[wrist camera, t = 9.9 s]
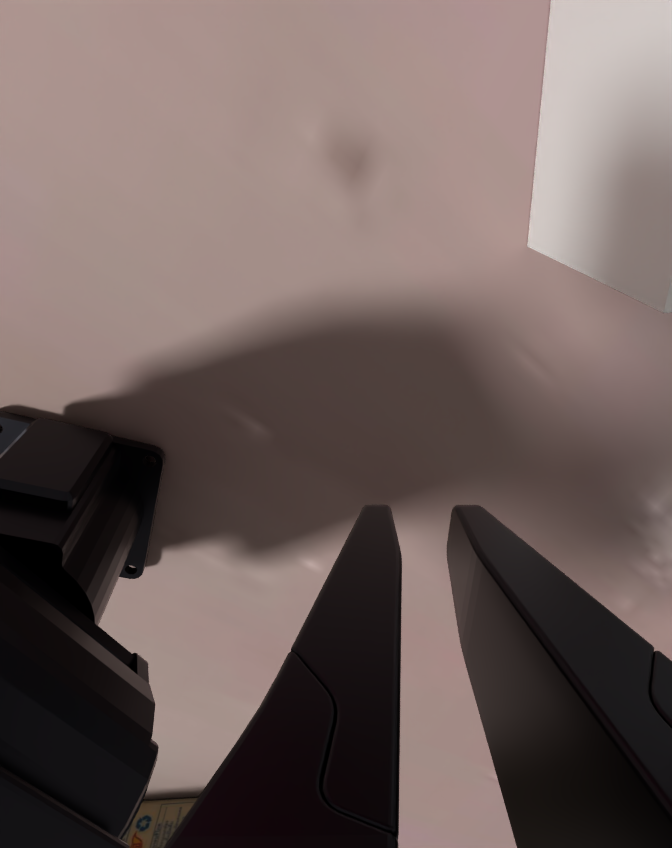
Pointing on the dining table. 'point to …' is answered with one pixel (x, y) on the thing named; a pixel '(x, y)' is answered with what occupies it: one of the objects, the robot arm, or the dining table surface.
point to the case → (607, 146)
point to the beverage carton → (157, 822)
